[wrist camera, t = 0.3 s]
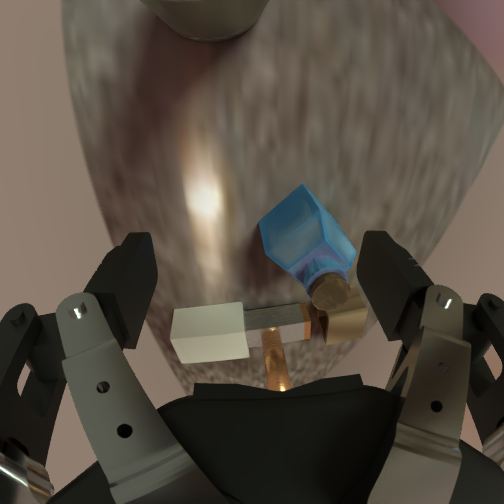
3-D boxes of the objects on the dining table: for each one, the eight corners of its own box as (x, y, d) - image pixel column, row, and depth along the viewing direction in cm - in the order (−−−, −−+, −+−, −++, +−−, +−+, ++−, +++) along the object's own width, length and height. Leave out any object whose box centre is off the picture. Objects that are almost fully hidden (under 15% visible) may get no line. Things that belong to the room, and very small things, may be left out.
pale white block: (174, 309, 37) (169, 339, 32) (242, 301, 37) (244, 331, 32) (184, 334, 40) (181, 363, 35) (246, 327, 40) (249, 357, 35)
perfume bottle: (336, 221, 31) (381, 291, 22) (294, 254, 34) (321, 333, 24) (302, 183, 29) (343, 246, 19) (258, 221, 31) (274, 299, 21)
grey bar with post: (182, 317, 36) (173, 409, 25) (305, 302, 37) (332, 391, 25) (189, 334, 38) (183, 422, 27) (304, 319, 39) (328, 405, 27)
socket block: (318, 290, 37) (329, 318, 33) (353, 284, 37) (367, 310, 33) (316, 317, 40) (326, 345, 35) (349, 311, 40) (361, 337, 36)
